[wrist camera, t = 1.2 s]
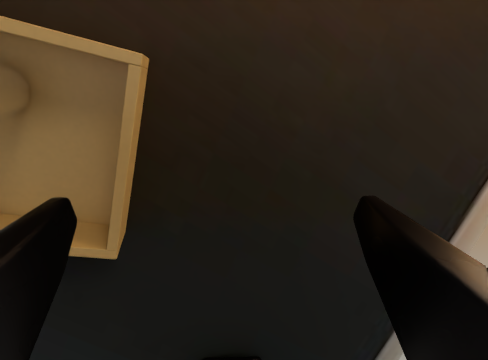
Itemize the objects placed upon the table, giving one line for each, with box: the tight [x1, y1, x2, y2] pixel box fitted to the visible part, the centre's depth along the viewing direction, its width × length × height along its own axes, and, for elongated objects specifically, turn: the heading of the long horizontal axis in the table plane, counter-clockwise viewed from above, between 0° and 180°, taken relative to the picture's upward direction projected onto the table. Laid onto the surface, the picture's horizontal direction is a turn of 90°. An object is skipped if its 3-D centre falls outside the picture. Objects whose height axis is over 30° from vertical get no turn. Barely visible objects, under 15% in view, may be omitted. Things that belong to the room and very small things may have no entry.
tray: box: [0, 16, 149, 259], centre depth 18 cm, size 13×13×4 cm
